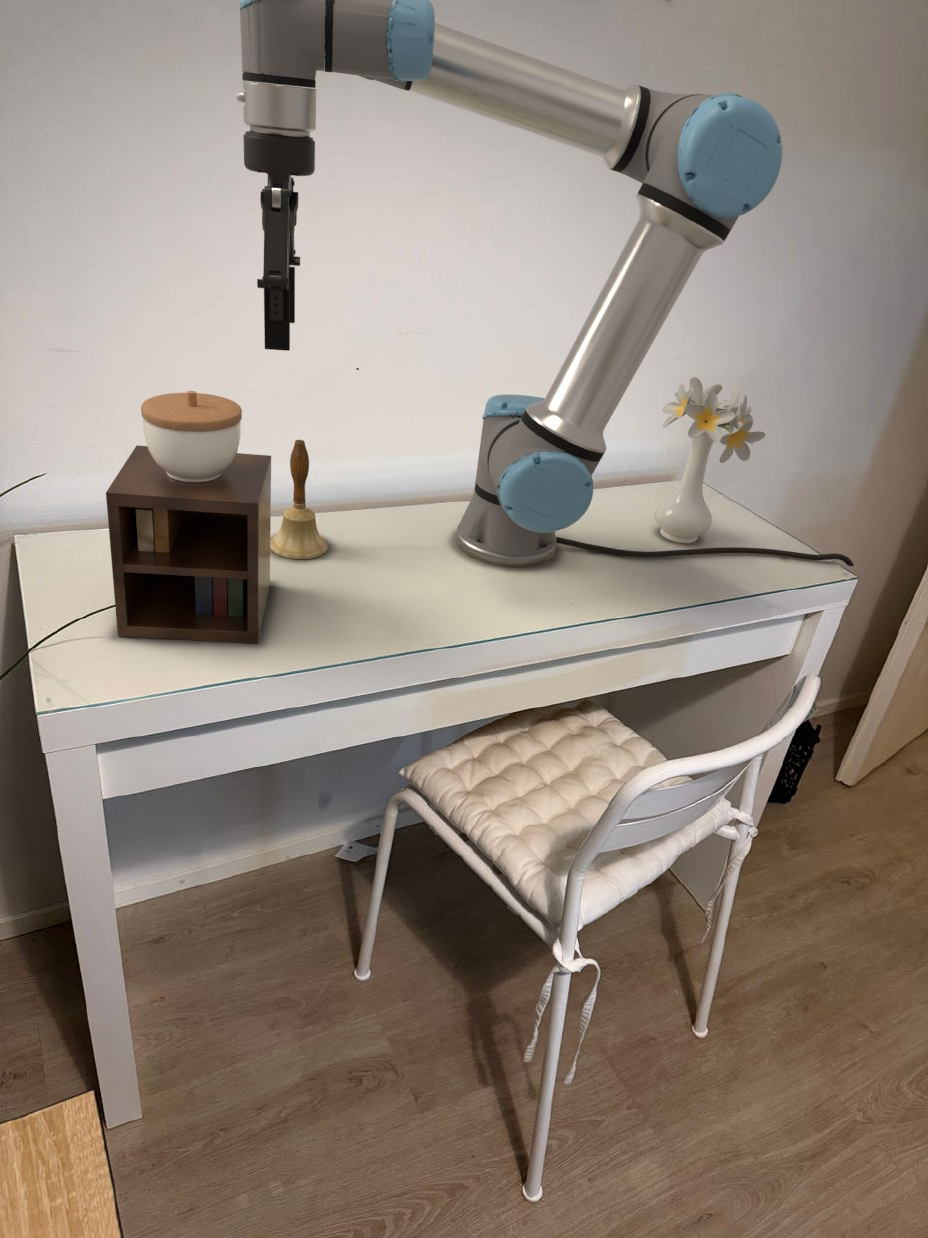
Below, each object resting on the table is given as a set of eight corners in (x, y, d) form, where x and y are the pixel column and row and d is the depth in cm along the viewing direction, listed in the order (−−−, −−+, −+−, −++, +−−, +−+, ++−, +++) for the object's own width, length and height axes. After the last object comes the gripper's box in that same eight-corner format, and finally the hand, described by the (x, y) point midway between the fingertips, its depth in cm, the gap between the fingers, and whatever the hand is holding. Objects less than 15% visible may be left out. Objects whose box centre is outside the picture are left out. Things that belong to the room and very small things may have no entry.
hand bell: (289, 564, 127) (292, 455, 119) (258, 541, 132) (259, 435, 124) (338, 552, 132) (344, 446, 124) (307, 530, 137) (310, 427, 129)
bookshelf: (269, 584, 121) (271, 455, 113) (258, 643, 109) (258, 503, 100) (144, 577, 119) (136, 445, 110) (117, 636, 106) (105, 492, 98)
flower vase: (691, 566, 142) (733, 409, 130) (617, 519, 155) (649, 372, 143) (750, 556, 148) (796, 405, 136) (674, 511, 162) (709, 370, 149)
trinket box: (218, 497, 100) (216, 413, 95) (126, 479, 101) (120, 396, 96) (256, 465, 109) (256, 388, 104) (172, 450, 110) (169, 372, 106)
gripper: (252, 123, 108) (256, 309, 118) (231, 133, 86) (238, 360, 97) (317, 130, 109) (315, 314, 119) (312, 141, 87) (310, 364, 98)
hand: (280, 335), depth 108 cm, fingers open, 13 cm apart
